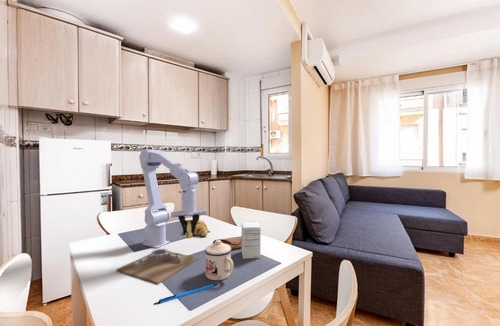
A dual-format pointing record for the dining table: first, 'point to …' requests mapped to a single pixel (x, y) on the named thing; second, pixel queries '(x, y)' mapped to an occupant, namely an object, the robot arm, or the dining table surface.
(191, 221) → the brass pin
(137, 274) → the board
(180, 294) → the pen
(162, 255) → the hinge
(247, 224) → the supplement box
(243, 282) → the dining table surface
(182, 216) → the robot arm
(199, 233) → the croissant
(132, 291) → the dining table surface
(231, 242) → the sunglasses case
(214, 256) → the teacup with lid
